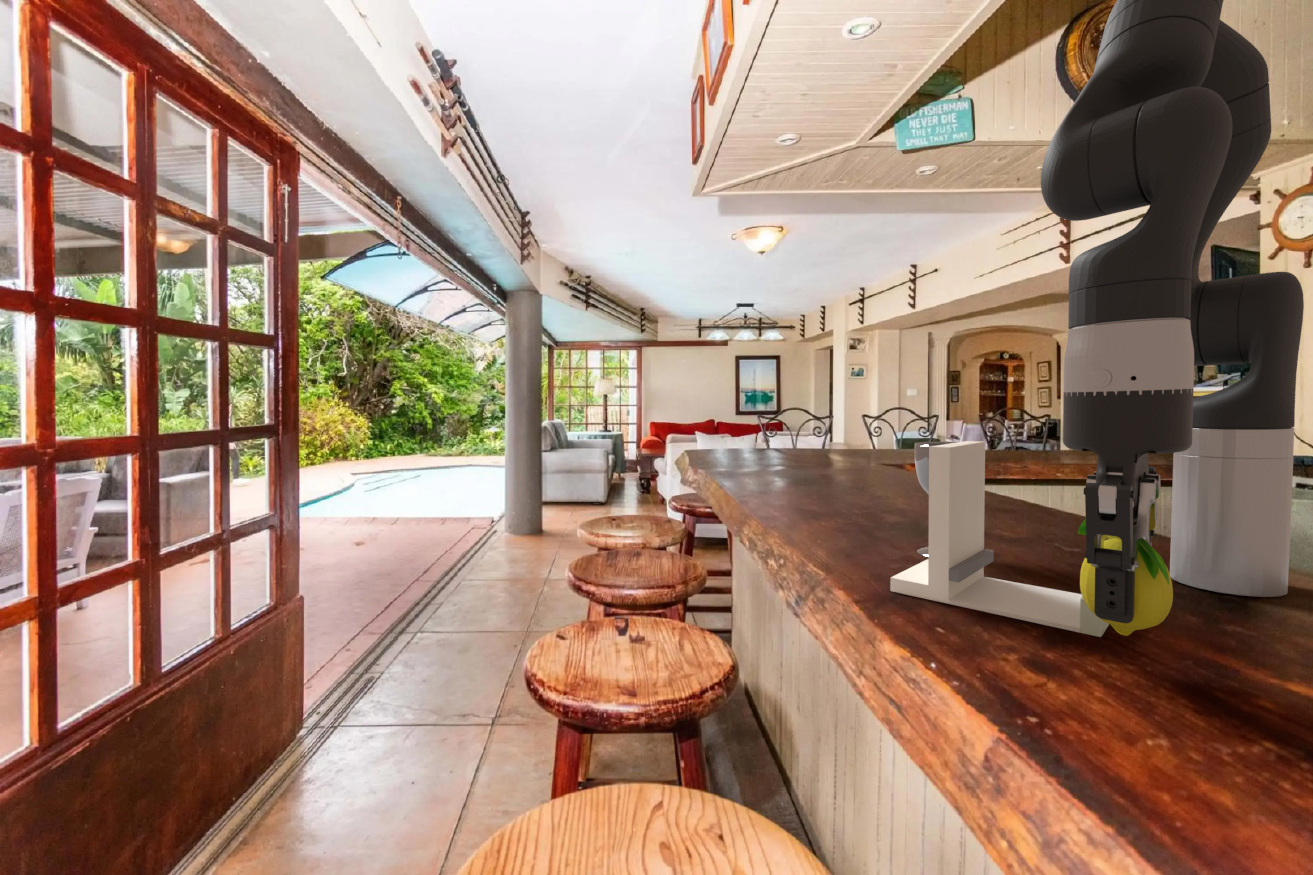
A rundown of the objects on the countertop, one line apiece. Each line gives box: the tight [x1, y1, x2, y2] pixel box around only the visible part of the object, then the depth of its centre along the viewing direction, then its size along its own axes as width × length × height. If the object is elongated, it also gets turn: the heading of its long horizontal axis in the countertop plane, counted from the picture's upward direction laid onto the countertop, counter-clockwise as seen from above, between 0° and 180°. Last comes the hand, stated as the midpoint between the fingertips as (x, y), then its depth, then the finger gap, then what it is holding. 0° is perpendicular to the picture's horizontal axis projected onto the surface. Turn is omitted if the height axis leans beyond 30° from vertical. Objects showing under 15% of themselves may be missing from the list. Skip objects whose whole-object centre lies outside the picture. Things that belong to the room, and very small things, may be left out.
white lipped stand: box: [889, 440, 1110, 638], centre depth 60 cm, size 11×18×16 cm, turn 44°
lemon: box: [1077, 517, 1174, 637], centre depth 44 cm, size 7×6×10 cm
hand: (1120, 607), depth 44 cm, fingers closed on lemon, 5 cm apart
